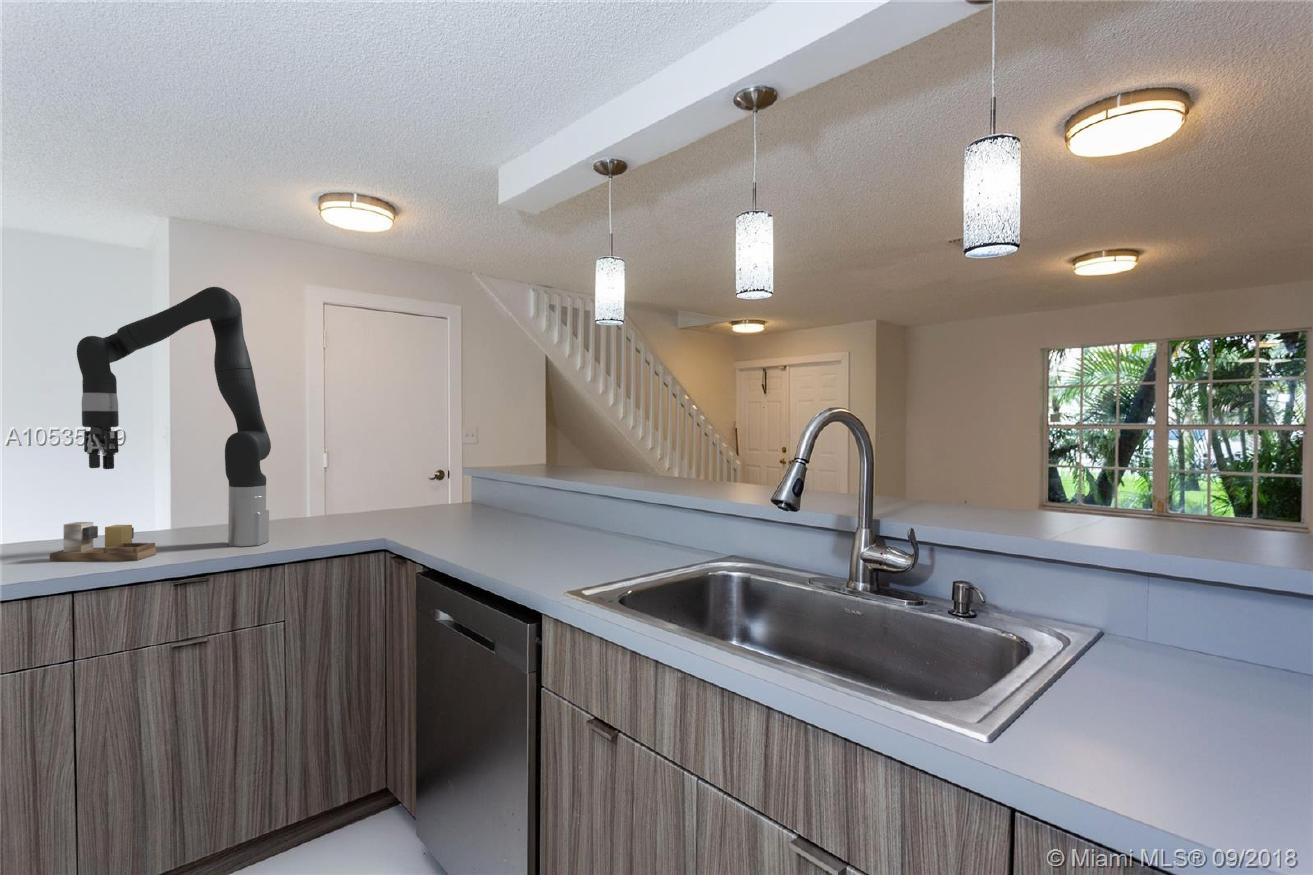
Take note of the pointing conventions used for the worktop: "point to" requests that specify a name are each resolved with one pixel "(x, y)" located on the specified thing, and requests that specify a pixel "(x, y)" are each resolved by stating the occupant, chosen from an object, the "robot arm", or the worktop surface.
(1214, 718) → the worktop surface
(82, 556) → the rail
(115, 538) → the yellow and grey box
